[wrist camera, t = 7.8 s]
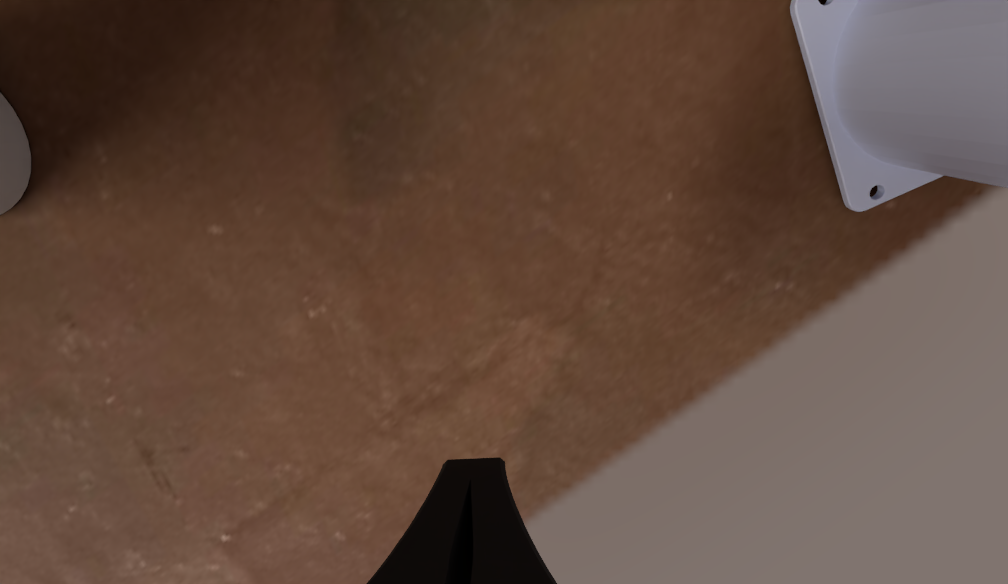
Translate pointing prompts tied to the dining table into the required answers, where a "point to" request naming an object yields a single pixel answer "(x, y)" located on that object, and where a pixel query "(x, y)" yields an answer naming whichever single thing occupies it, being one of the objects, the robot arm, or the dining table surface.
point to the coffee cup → (12, 157)
